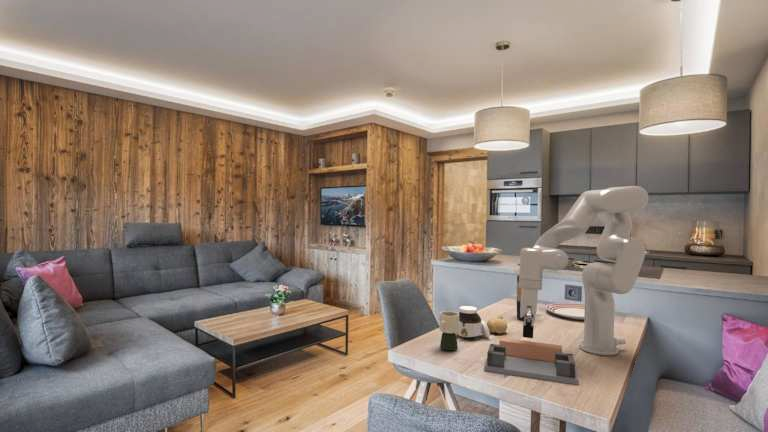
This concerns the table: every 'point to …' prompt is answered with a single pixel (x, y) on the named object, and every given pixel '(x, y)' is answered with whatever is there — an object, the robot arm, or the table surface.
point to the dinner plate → (568, 310)
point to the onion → (497, 325)
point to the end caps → (562, 360)
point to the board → (531, 370)
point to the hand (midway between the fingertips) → (528, 333)
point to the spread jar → (471, 324)
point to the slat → (530, 349)
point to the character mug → (449, 329)
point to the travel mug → (519, 300)
